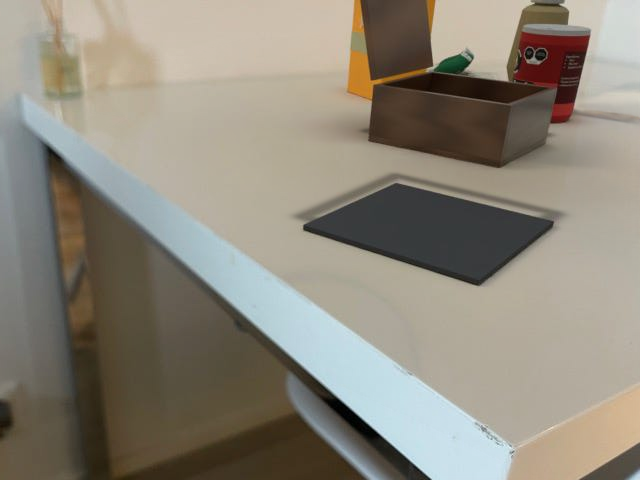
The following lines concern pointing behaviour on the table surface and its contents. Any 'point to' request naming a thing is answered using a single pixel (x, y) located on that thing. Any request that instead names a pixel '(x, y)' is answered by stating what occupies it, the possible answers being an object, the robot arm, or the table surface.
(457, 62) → the green rounded piece
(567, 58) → the canned food
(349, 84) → the orange juice
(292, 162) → the table surface
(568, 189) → the table surface
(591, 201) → the table surface
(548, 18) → the squeeze bottle
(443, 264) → the mat
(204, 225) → the table surface
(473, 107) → the chest
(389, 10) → the lid
